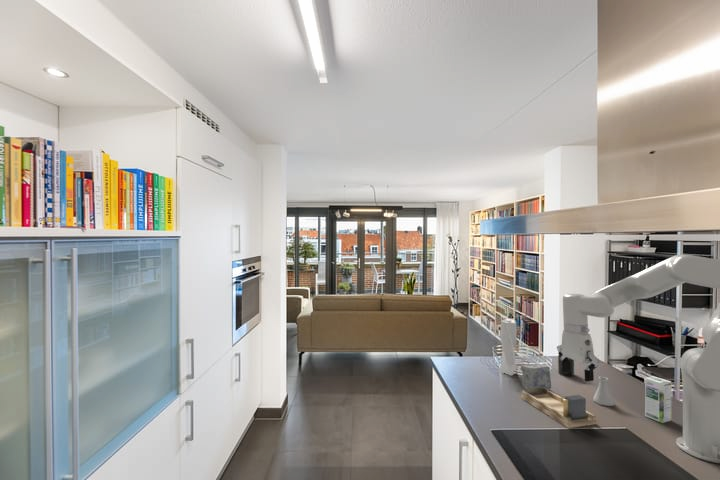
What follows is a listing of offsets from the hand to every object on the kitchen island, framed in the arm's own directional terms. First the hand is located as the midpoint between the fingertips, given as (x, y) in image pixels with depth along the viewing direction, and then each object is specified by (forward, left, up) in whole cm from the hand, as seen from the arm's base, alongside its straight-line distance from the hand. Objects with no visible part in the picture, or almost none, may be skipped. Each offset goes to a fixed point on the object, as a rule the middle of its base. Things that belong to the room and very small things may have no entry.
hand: (577, 375), depth 126 cm
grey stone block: (+28, -7, -17) cm, 34 cm away
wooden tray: (+9, 0, -17) cm, 19 cm away
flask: (+10, -24, -17) cm, 31 cm away
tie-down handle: (0, 0, -15) cm, 15 cm away
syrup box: (-5, -32, -17) cm, 36 cm away
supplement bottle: (+39, -34, -17) cm, 54 cm away
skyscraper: (+47, -7, -17) cm, 51 cm away
